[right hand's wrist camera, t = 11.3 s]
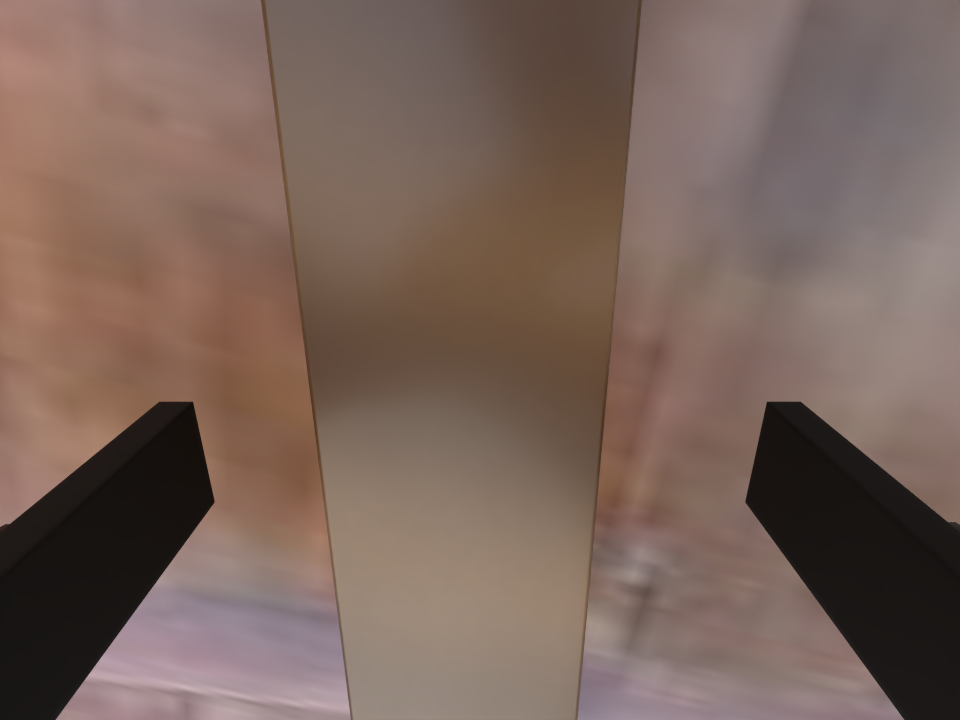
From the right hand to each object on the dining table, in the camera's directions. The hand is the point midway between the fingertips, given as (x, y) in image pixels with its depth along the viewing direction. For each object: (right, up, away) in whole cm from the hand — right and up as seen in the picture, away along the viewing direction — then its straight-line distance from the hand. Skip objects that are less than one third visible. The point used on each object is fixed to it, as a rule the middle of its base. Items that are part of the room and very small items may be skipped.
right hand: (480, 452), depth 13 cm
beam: (-1, +30, -6) cm, 30 cm away
